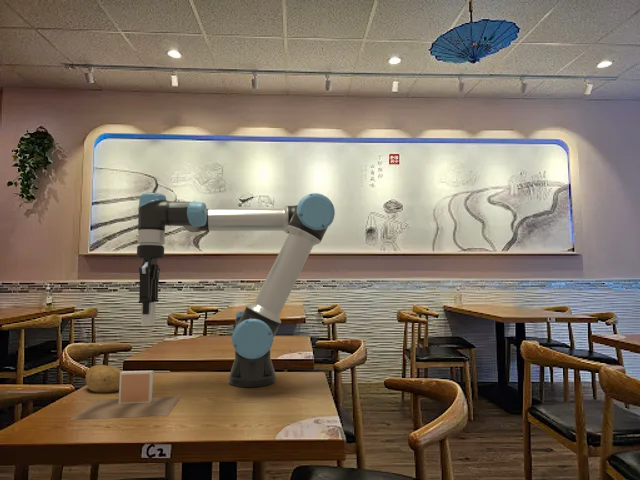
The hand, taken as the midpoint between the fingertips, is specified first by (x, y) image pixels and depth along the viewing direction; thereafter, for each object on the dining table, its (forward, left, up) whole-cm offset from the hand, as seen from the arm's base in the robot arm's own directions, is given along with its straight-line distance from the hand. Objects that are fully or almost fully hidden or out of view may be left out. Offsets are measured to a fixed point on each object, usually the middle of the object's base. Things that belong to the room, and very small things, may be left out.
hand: (147, 324), depth 118 cm
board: (0, +13, -21) cm, 24 cm away
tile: (0, +9, -19) cm, 21 cm away
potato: (+13, -6, -21) cm, 25 cm away
